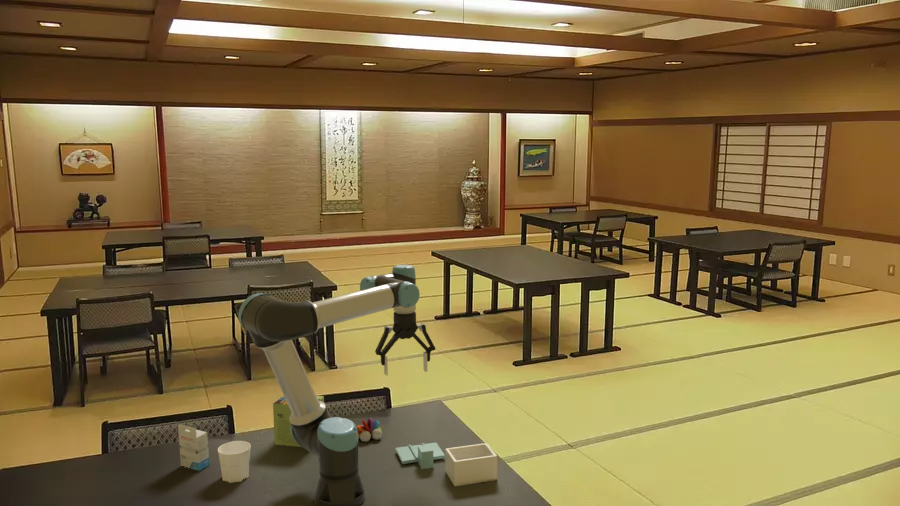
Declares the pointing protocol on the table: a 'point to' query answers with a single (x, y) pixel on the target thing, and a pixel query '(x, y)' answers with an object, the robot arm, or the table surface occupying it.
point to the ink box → (193, 448)
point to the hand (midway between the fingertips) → (405, 372)
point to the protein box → (284, 423)
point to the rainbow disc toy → (369, 430)
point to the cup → (234, 460)
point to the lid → (420, 454)
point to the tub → (471, 464)
